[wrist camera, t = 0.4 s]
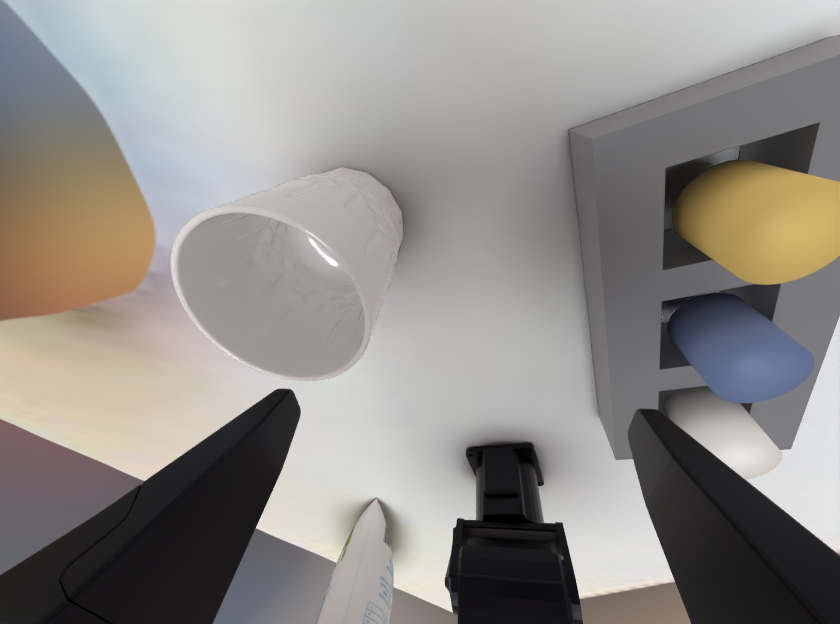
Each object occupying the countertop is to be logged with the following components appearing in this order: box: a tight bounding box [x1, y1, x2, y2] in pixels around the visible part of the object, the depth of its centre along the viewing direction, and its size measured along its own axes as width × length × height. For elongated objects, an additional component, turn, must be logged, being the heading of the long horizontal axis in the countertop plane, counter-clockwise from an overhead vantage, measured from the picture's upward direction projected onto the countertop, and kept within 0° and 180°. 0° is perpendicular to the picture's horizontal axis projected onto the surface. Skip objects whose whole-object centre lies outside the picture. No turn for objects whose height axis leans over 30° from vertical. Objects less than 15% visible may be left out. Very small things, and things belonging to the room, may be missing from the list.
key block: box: [568, 35, 840, 460], centre depth 18 cm, size 22×10×4 cm, turn 20°
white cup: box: [171, 167, 404, 381], centre depth 17 cm, size 8×8×10 cm
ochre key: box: [672, 160, 840, 285], centre depth 13 cm, size 4×4×4 cm
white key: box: [664, 386, 782, 479], centre depth 19 cm, size 4×4×4 cm
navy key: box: [667, 293, 815, 403], centre depth 16 cm, size 4×4×4 cm
